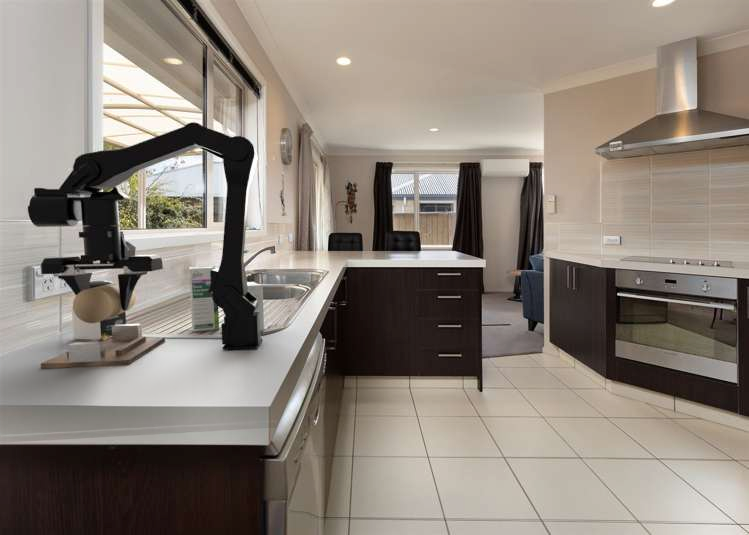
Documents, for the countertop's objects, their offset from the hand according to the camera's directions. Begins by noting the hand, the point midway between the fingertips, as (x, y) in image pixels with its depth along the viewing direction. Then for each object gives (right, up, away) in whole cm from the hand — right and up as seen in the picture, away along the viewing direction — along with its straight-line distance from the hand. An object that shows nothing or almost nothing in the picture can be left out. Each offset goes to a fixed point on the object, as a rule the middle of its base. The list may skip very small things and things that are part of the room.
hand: (107, 310), depth 81 cm
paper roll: (0, -1, 0) cm, 1 cm away
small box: (+20, -6, +20) cm, 29 cm away
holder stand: (0, -8, +1) cm, 8 cm away
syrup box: (+10, -6, +21) cm, 24 cm away
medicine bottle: (-10, -7, +15) cm, 19 cm away
